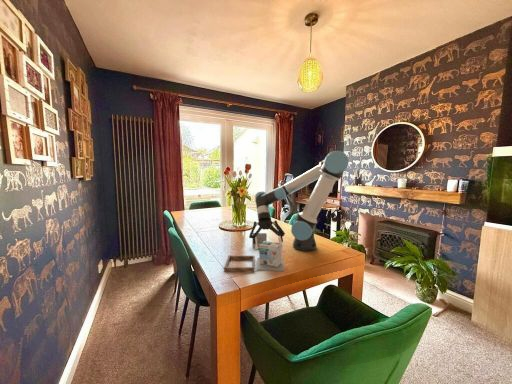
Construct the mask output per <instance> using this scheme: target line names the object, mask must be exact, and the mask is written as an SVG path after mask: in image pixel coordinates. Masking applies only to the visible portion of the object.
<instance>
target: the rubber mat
mask: <svg viewBox="0 0 512 384" xmlns="http://www.w3.org/2000/svg"><path fill="white" fill-rule="evenodd" d="M256 260H257V261H256V271H257V272H258V271H259V272H261V271H265V272H266V271H267V272H285V267H284V262H283V260H282V262H281V263H280V264H279V266H278V267H275V266H270V265H265V264H260V262H259V257H257V259H256Z"/></svg>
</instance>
